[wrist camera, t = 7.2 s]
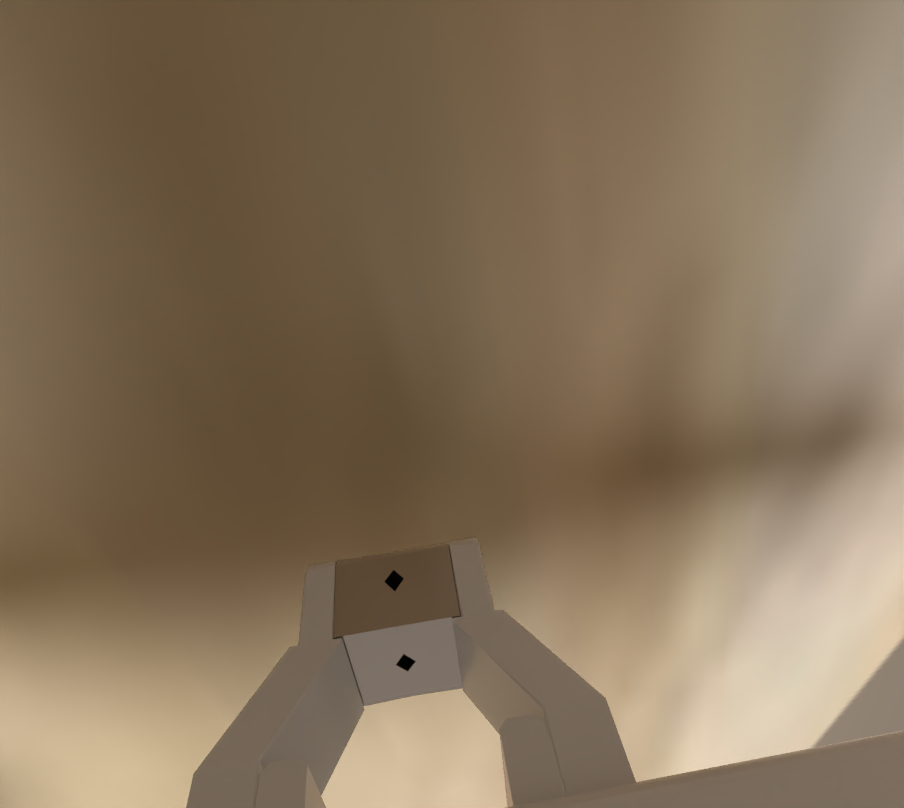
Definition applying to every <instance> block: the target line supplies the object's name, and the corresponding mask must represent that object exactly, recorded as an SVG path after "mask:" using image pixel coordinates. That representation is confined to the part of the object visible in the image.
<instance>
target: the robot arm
mask: <svg viewBox="0 0 904 808" xmlns="http://www.w3.org/2000/svg"><path fill="white" fill-rule="evenodd" d="M460 688H463V691H464V692H465V693H466V695H467V696H468V697H469V698H470V699H471V701H472V702H473V703H474V704H475V705H476V707H477V708H478V709H479V710H480V711H481V713H482V714H483V715H484V716H485V718H486V719H487V720H488V721H489V722H490V724H491V725H492V726H493V727H494V728H495V730H496V731H497V732H498V733H499V734H500V740H501V750H502V760H503V769H504V779H505V788H506V798H507V807H506V808H904V730H903V731H898V732H893V733H888V734H883V735H878V736H872V737H867V738H862V739H857V740H852V741H847V742H842V743H836V744H832V745H826V746H821V747H816V748H811V749H805V750H800V751H795V752H790V753H785V754H780V755H775V756H769V757H764V758H759V759H754V760H749V761H744V762H738V763H733V764H728V765H723V766H718V767H713V768H708V769H702V770H697V771H692V772H687V773H682V774H677V775H671V776H666V777H661V778H656V779H651V780H646V781H641V782H636V780H635V778H634V775H633V772H632V769H631V767H630V764H629V761H628V758H627V756H626V753H625V750H624V747H623V745H622V742H621V739H620V736H619V734H618V731H617V728H616V725H615V723H614V720H613V717H612V714H611V712H610V709H609V706H608V703H607V701H606V698H605V697H604V696H602V695H601V694H600V693H599V692H598V691H597V690H595V689H594V688H593V687H592V686H591V685H590V684H589V683H587V682H586V681H585V680H584V679H583V678H582V677H580V676H579V675H578V674H577V673H576V672H575V671H574V670H572V669H571V668H570V667H569V666H568V665H567V664H565V663H564V662H563V661H562V660H561V659H560V658H558V657H557V656H556V655H555V654H554V653H553V652H552V651H550V650H549V649H548V648H547V647H546V646H545V645H543V644H542V643H541V642H540V641H539V640H538V639H536V638H535V637H534V636H533V635H532V634H531V633H530V632H528V631H527V630H526V629H525V628H524V627H523V626H521V625H520V624H519V623H518V622H517V621H516V620H515V619H513V618H512V617H511V616H510V615H509V614H508V613H506V612H505V611H504V610H497V611H495V610H494V606H493V602H492V597H491V593H490V589H489V585H488V580H487V576H486V572H485V567H484V563H483V559H482V554H481V550H480V546H479V541H478V540H477V538H476V537H473V538H468V539H462V540H457V541H451V542H449V545H448V542H445V543H440V544H434V545H429V546H423V547H418V548H412V549H406V550H401V551H395V552H393V553H386V554H379V555H372V556H365V557H358V558H351V559H344V560H337V561H334V562H327V563H320V564H313V565H308V567H307V570H306V572H305V580H304V591H303V602H302V613H301V624H300V634H299V645H298V646H293V647H289V649H288V650H287V651H286V653H285V654H284V655H283V657H282V658H281V659H280V661H279V662H278V663H277V665H276V666H275V667H274V668H273V670H272V671H271V672H270V674H269V675H268V676H267V678H266V679H265V680H264V682H263V683H262V684H261V686H260V687H259V688H258V690H257V691H256V692H255V694H254V695H253V696H252V697H251V699H250V700H249V701H248V703H247V704H246V705H245V707H244V708H243V709H242V711H241V712H240V713H239V715H238V716H237V717H236V719H235V720H234V721H233V722H232V724H231V725H230V726H229V728H228V729H227V730H226V732H225V733H224V734H223V736H222V737H221V738H220V740H219V741H218V742H217V744H216V745H215V746H214V748H213V749H212V750H211V751H210V753H209V754H208V755H207V757H206V758H205V759H204V761H203V762H202V763H201V765H200V766H199V767H198V769H197V770H196V771H195V773H194V775H193V779H192V784H191V788H190V793H189V798H188V802H187V807H186V808H326V806H325V804H324V802H323V800H322V797H321V795H322V793H323V791H324V789H325V787H326V785H327V783H328V781H329V779H330V777H331V775H332V773H333V771H334V769H335V767H336V765H337V763H338V761H339V759H340V757H341V755H342V753H343V751H344V749H345V747H346V745H347V743H348V741H349V739H350V737H351V735H352V733H353V731H354V729H355V727H356V725H357V723H358V721H359V719H360V717H361V715H362V713H363V711H364V707H363V706H366V705H371V704H376V703H381V702H385V701H390V700H395V699H400V698H404V697H409V696H413V695H421V694H427V693H434V692H440V691H447V690H453V689H460Z"/></svg>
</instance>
